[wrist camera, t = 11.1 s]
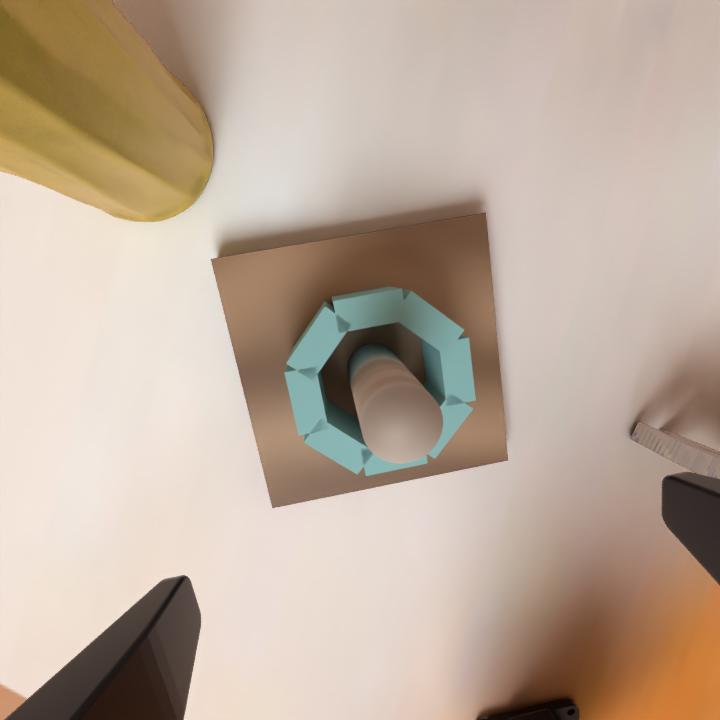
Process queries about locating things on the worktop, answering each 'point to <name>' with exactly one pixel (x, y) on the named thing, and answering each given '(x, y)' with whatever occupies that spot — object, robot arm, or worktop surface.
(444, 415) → the ring
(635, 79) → the worktop surface
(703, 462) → the caliper
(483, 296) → the post stand
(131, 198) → the vase
